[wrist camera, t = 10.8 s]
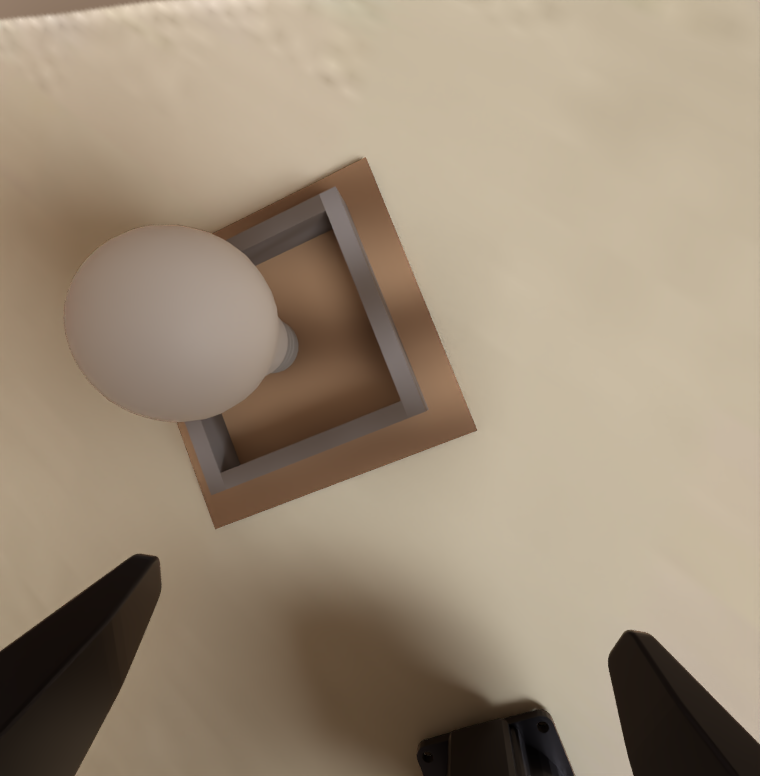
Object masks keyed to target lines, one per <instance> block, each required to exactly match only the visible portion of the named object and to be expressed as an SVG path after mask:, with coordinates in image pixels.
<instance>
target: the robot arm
mask: <svg viewBox="0 0 760 776" xmlns="http://www.w3.org/2000/svg"><path fill="white" fill-rule="evenodd" d="M160 593H161V571H160V561H159V559H158V557H156V556H152V555H145V554H135V555H133V556H131V557H130V558H128V559H127V560H125V561H124V562H123V563H121V564H120V565H119V566H117V567H116V568H114V569H113V570H112V571H110V572H109V573H108V574H106V575H105V576H103V577H102V578H101V579H99V580H98V581H96V582H95V583H94V584H92V585H91V586H90V587H88V588H87V589H85V590H84V591H83V592H81V593H80V594H79V595H77V596H76V597H74V598H73V599H72V600H70V601H69V602H67V603H66V604H65V605H63V606H62V607H61V608H59V609H58V610H56V611H55V612H54V613H52V614H51V615H50V616H48V617H47V618H45V619H44V620H43V621H41V622H40V623H38V624H37V625H36V626H34V627H33V628H32V629H30V630H29V631H27V632H26V633H25V634H23V635H22V636H21V637H19V638H18V639H16V640H15V641H14V642H12V643H11V644H9V645H8V646H7V647H5V648H4V649H3V650H1V651H0V776H75V774H76V772H77V770H78V769H79V767H80V765H81V763H82V761H83V759H84V757H85V755H86V754H87V752H88V750H89V748H90V746H91V744H92V742H93V740H94V739H95V737H96V735H97V733H98V731H99V729H100V727H101V725H102V724H103V722H104V720H105V718H106V716H107V714H108V712H109V710H110V709H111V707H112V705H113V703H114V701H115V699H116V697H117V695H118V693H119V691H120V689H121V687H122V685H123V683H124V680H125V678H126V676H127V674H128V671H129V669H130V667H131V664H132V662H133V659H134V657H135V655H136V652H137V650H138V647H139V645H140V642H141V640H142V638H143V635H144V633H145V630H146V628H147V626H148V623H149V621H150V618H151V616H152V614H153V611H154V609H155V606H156V604H157V602H158V599H159V596H160ZM608 667H609V672H610V677H611V682H612V686H613V691H614V695H615V700H616V705H617V709H618V714H619V718H620V723H621V728H622V732H623V737H624V741H625V746H626V750H627V754H628V758H629V761H630V765H631V768H632V772H633V775H634V776H760V744H759V743H758V742H757V741H756V740H755V739H754V738H753V737H752V736H751V735H750V734H749V733H748V732H747V731H746V730H745V729H744V728H743V727H742V726H741V725H740V724H739V723H738V722H737V721H736V720H735V719H734V718H733V717H732V716H731V715H730V714H729V713H728V712H727V711H726V710H725V709H724V708H723V707H722V706H721V705H720V704H719V703H718V702H717V701H716V700H715V699H714V698H713V697H712V696H711V695H710V694H709V692H708V691H707V690H706V689H705V688H704V687H703V686H702V685H701V684H700V683H699V682H698V681H697V680H696V679H695V678H694V677H693V676H692V675H691V674H690V673H689V672H688V671H687V670H686V669H685V668H684V667H683V666H682V665H681V664H680V663H679V662H678V661H677V660H676V659H675V658H674V657H673V656H672V655H671V654H670V653H669V652H668V651H667V650H666V649H665V648H664V647H663V646H662V645H661V644H660V643H659V642H658V641H657V640H656V639H655V638H654V637H653V636H652V635H650V634H648V633H646V632H641V631H634V630H627V631H625V632H624V633H623V634H622V636H621V637H620V639H619V640H618V642H617V643H616V645H615V646H614V648H613V649H612V651H611V652H610V654H609V657H608ZM541 721H544V722H546V723H547V724H546V725H545V726H539V725H537V724H538V723H539V722H541ZM424 752H430V753H431V754H432V755H431V756H427V755H425V754H424ZM417 759H418V762H419V765H420V767H421V770H422V773H423V775H424V776H575V774H574V771H573V769H572V766H571V764H570V761H569V759H568V756H567V754H566V751H565V749H564V746H563V744H562V741H561V739H560V737H559V734H558V732H557V729H556V727H555V724H554V722H553V719H552V717H551V715H550V714H549V713H548V712H546V711H544V710H534V711H531V712H527V713H523V714H520V715H516V716H512V717H508V718H505V719H496V720H492V721H489V722H485V723H481V724H478V725H474V726H470V727H466V728H463V729H459V730H455V731H452V732H451V733H449V734H445V735H441V736H437V737H434V738H430V739H426V740H423V741H421V742H420V744H419V745H418V750H417Z"/></svg>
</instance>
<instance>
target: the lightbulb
mask: <svg viewBox="0 0 760 776" xmlns="http://www.w3.org/2000/svg"><path fill="white" fill-rule="evenodd" d="M64 325H65V334H66V337H67V341H68V344H69V348H70V350H71V353H72V355H73V357H74V359H75V361H76V363H77V365H78V367H79V369H80V370H81V372H82V373H83V374H84V376H85V377H86V378H87V379H88V381H89V382H90V383H91V384H92V385H93V386H94V387H95V388H96V389H97V390H98V391H99V392H100V393H101V394H102V395H103V396H105V397H106V398H107V399H108V400H109V401H111V402H113V403H114V404H116V405H118V406H120V407H121V408H123V409H125V410H127V411H130V412H132V413H134V414H137V415H140V416H143V417H147V418H150V419H155V420H160V421H169V422H186V421H194V420H202V419H207V418H210V417H213V416H215V415H218V414H221V413H223V412H225V411H227V410H228V409H230V408H232V407H233V406H235V405H237V404H238V403H240V402H242V401H243V400H245V399H246V398H247V397H248V396H249V395H250V394H251V393H252V392H253V391H254V390H255V389H257V387H258V386H259V384H260V383H261V382H262V380H263V379H264V377H265V376H266V375H268V374H270V373H277V372H281V371H284V370H285V369H287V368H288V367H289V366H291V365H292V363H293V362H294V361H295V359H296V356H297V353H298V339H297V336H296V334H295V332H294V331H293V329H292V328H291V327H290V326H288V325H287V324H285V323H284V322H283V321H281V319H280V318H279V317H278V313H277V307H276V304H275V301H274V298H273V294H272V292H271V290H270V288H269V286H268V284H267V283H266V281H265V279H264V277H263V276H262V274H261V273H260V271H259V270H258V269H257V268H256V266H255V265H254V264H253V263H252V262H251V261H250V259H249V258H248V257H247V256H246V255H245V254H244V253H242V252H241V251H240V250H238V249H237V248H236V247H234V246H233V245H232V244H230V243H229V242H227V241H225V240H224V239H222V238H220V237H218V236H216V235H213V234H211V233H209V232H207V231H203V230H199V229H195V228H190V227H186V226H181V225H148V226H143V227H139V228H134V229H132V230H129V231H127V232H125V233H122V234H120V235H118V236H116V237H114V238H111V239H109V240H108V241H107V242H105V243H104V244H102V245H101V246H100V247H98V248H97V249H96V250H95V251H94V252H93V253H92V254H91V255H90V256H89V257H88V258H87V259H86V260H85V261H84V262H83V264H82V265H81V266H80V268H79V269H78V271H77V272H76V274H75V275H74V277H73V280H72V282H71V284H70V287H69V289H68V293H67V297H66V301H65V308H64Z"/></svg>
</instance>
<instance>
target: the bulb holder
mask: <svg viewBox="0 0 760 776" xmlns="http://www.w3.org/2000/svg"><path fill="white" fill-rule="evenodd" d="M213 235H216V236H218V237H220V238H222V239H224V240H225V241H227V242H229V243H230V244H232V245H233V246H234V247H236V248H237V249H238V250H240V251H241V252H242V253H244V254H245V255H246V256H247V257H248V258H249V259H250V261H251V262H252V263H253V264H254V265H255V266H256V268H257V269H258V270H259V271H260V273H261V274H262V276H263V277H264V279H265V281H266V283H267V284H268V286H269V288H270V290H271V292H272V294H273V298H274V301H275V304H276V307H277V313H278V317H279V318H280V319H281V321H283V322H284V323H285V324H287V325H288V326H290V327H291V328H292V329H293V331H294V332H295V334H296V336H297V339H298V353H297V356H296V359H295V361H294V362H293V363H292V365H291V366H289V367H288V368H287V369H285V370H284V371H281V372H277V373H270V374H268V375H266V376H265V377H264V379H263V380H262V382H261V383H260V384H259V386H258V387H257V389H255V390H254V391H253V392H252V393H251V394H250V395H249V396H248V397H247V398H246V399H245V400H243V401H242V402H240V403H238V404H237V405H235V406H233V407H232V408H230V409H228V410H227V411H225V412H223V413H221V414H218V415H215V416H213V417H210V418H207V419H202V420H194V421H186V422H177V424H178V427H179V430H180V432H181V435H182V438H183V441H184V444H185V446H186V449H187V452H188V455H189V457H190V460H191V463H192V466H193V468H194V471H195V474H196V477H197V480H198V482H199V485H200V488H201V491H202V493H203V496H204V499H205V502H206V504H207V507H208V510H209V513H210V516H211V518H212V521H213V524H214V527H215V529H217V528H220V527H222V526H225V525H228V524H230V523H233V522H235V521H238V520H241V519H243V518H246V517H249V516H251V515H254V514H257V513H259V512H262V511H265V510H267V509H270V508H273V507H275V506H278V505H281V504H283V503H286V502H289V501H291V500H294V499H296V498H299V497H302V496H304V495H307V494H310V493H312V492H315V491H318V490H320V489H323V488H326V487H328V486H331V485H334V484H336V483H339V482H342V481H344V480H347V479H349V478H352V477H355V476H357V475H360V474H363V473H365V472H368V471H371V470H373V469H376V468H379V467H381V466H384V465H387V464H389V463H392V462H395V461H397V460H400V459H403V458H405V457H408V456H410V455H413V454H416V453H418V452H421V451H424V450H426V449H429V448H432V447H434V446H437V445H440V444H442V443H445V442H448V441H450V440H453V439H456V438H458V437H461V436H464V435H466V434H469V433H471V432H474V431H477V429H476V426H475V424H474V421H473V419H472V416H471V414H470V412H469V409H468V407H467V404H466V402H465V399H464V397H463V394H462V392H461V389H460V387H459V385H458V382H457V380H456V377H455V375H454V372H453V370H452V367H451V365H450V362H449V360H448V358H447V355H446V353H445V350H444V348H443V345H442V343H441V340H440V338H439V336H438V333H437V331H436V328H435V326H434V323H433V321H432V318H431V316H430V313H429V311H428V309H427V306H426V304H425V301H424V299H423V296H422V294H421V291H420V289H419V287H418V284H417V282H416V279H415V277H414V274H413V272H412V269H411V267H410V264H409V262H408V260H407V257H406V255H405V252H404V250H403V247H402V245H401V242H400V240H399V237H398V235H397V233H396V230H395V228H394V225H393V223H392V220H391V218H390V215H389V213H388V211H387V208H386V206H385V203H384V201H383V198H382V196H381V193H380V191H379V188H378V186H377V184H376V181H375V179H374V176H373V174H372V171H371V169H370V166H369V164H368V162H367V159H366V157H365V158H363V159H361V160H359V161H357V162H355V163H353V164H351V165H349V166H347V167H345V168H343V169H341V170H339V171H337V172H335V173H333V174H331V175H329V176H327V177H325V178H323V179H321V180H319V181H317V182H315V183H313V184H311V185H309V186H307V187H305V188H303V189H301V190H299V191H297V192H295V193H293V194H291V195H289V196H287V197H285V198H283V199H281V200H279V201H277V202H275V203H273V204H271V205H269V206H267V207H265V208H263V209H261V210H259V211H257V212H255V213H253V214H251V215H249V216H247V217H245V218H243V219H241V220H239V221H237V222H235V223H233V224H231V225H229V226H227V227H225V228H223V229H221V230H219V231H217V232H215V233H213Z"/></svg>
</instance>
